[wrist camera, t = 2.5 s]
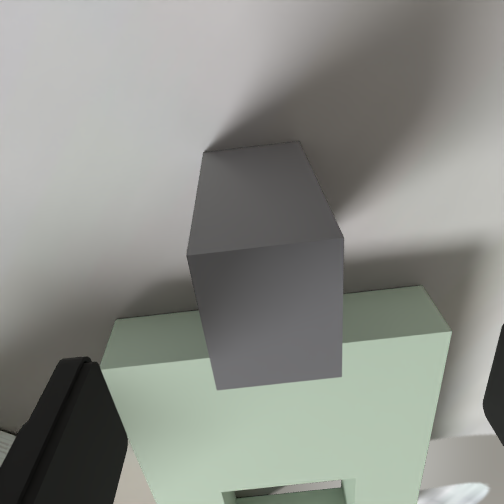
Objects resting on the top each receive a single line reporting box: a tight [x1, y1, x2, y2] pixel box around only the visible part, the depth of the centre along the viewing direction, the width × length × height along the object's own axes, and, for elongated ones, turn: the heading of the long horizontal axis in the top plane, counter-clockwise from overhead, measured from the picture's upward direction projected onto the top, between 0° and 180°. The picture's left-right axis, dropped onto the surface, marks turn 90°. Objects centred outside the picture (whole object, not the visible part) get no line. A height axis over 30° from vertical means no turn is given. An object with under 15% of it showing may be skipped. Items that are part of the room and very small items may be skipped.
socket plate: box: [100, 285, 452, 504], centre depth 23 cm, size 20×14×3 cm
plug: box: [186, 141, 344, 390], centre depth 13 cm, size 4×4×7 cm
